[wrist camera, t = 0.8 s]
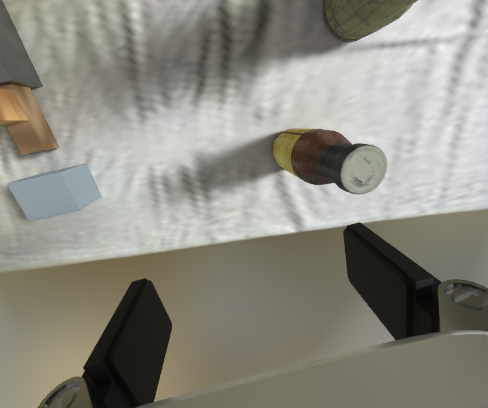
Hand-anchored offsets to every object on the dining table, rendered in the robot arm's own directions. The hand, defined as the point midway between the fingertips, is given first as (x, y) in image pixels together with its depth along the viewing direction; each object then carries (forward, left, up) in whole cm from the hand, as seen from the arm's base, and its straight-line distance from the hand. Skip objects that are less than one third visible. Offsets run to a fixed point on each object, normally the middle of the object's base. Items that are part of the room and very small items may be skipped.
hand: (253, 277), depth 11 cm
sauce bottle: (-1, +10, -28) cm, 30 cm away
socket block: (-3, -25, -28) cm, 38 cm away
